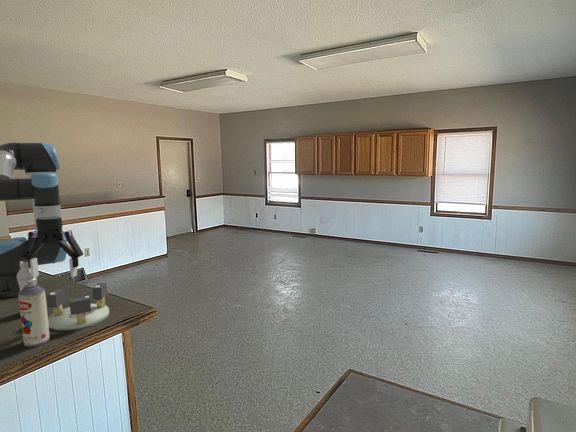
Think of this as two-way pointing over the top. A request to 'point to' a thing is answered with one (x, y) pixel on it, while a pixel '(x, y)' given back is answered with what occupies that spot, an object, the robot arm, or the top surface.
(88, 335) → the top surface
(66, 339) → the top surface
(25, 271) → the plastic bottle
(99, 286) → the grey block on peg
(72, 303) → the knob front
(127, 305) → the top surface
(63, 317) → the base
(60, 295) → the dark grey rectangular block
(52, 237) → the robot arm
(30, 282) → the aerosol can
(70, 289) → the top surface
